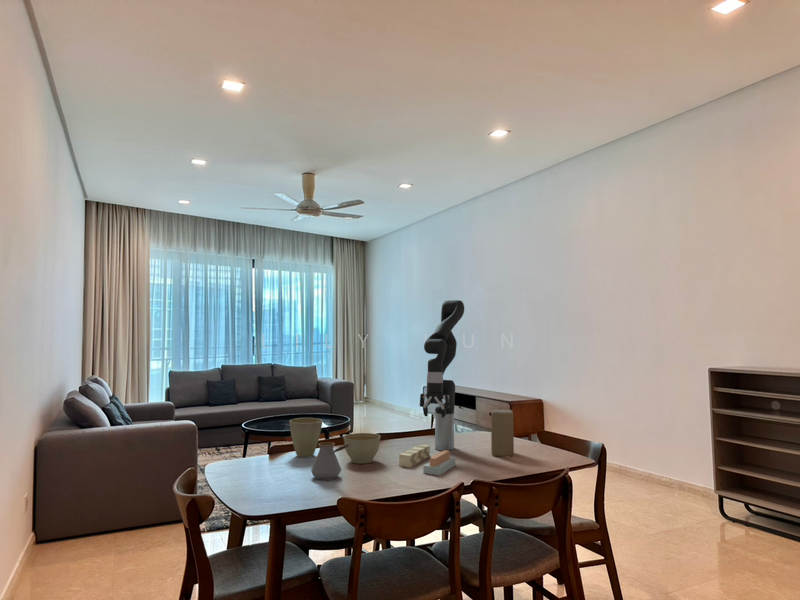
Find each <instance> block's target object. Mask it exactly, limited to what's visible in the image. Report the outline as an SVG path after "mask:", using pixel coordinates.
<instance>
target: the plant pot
mask: <svg viewBox="0 0 800 600" xmlns="http://www.w3.org/2000/svg"><path fill="white" fill-rule="evenodd" d="M323 421H324V420H323V419H321V418H315V417H298V418H297V417H296V418H293V419H290V420H289V428H290V436H291V440H292V445H293V448H294V451H295V455H296V457H298V458H303V457H306V458H311V457H312V458H313V456H314V455H315V453H316V449H317V447H318V444H319V440H320V436H321V432H322V427H323Z"/></svg>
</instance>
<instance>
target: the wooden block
mask: <svg viewBox="0 0 800 600" xmlns="http://www.w3.org/2000/svg"><path fill="white" fill-rule="evenodd" d="M490 419H491V420H490V422H491V423H490V424H491V425H490V427H491V428H490V429H491V430H490V432H491V434H490V435H491V436H490V438H491V440H490V441H491V445H490V446H491V449H490V450H491V455H492V456H493V457H506V456H511V457H510V458H512V457H514V455H515V453H514V451H515V449H514V448H515V447H514V446H515V444H514V439H515V438H514V437H515V435H514V434H515V433H514V430H515V429H514V412H513V410H512V409H495V408H494V409H492V410H491V411H490Z"/></svg>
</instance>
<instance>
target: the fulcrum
mask: <svg viewBox="0 0 800 600" xmlns="http://www.w3.org/2000/svg"><path fill="white" fill-rule="evenodd" d="M450 451H451V450H441V451H440V452H438V453H436V454H435V455H432V456H431V457H429V462H427V463H425V464H423V466H422V467H423V468H422V470H423V473H422V474H425V473H427V475H432V474H434V475H433V476H441V475H443V474H444V473H446V472H447V471H449V470H451V469H452V468H454V467H455V466H456V457H451V456H450V454H451V452H450ZM442 473H443V474H442Z"/></svg>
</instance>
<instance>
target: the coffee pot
mask: <svg viewBox="0 0 800 600" xmlns="http://www.w3.org/2000/svg"><path fill="white" fill-rule="evenodd" d="M335 445H336V443H335V442H332V441H331V442H330V441H323V442H318V444H317V447H318V448H319V451H318V452H317V455H316V457H315V460H314V463H313V465H312V467H311V473H312V476H314V477H315V479H316V478H317V480H319V479H322V480H321V481H330V480H329V479H332V480H334V478H335V479H336V478H337V477H338V476H339V475H340V473H341V471H342V468H341V465H340V463H339V460H338V457H337V456H336V453H337V452H340V451H343V450H344V449H345V450H346V447H348V446H349V445H342V446H339V447H337V448H336V449H334V448H335V447H334V446H335ZM350 448H351V447H350ZM349 450H350V449H349Z"/></svg>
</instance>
